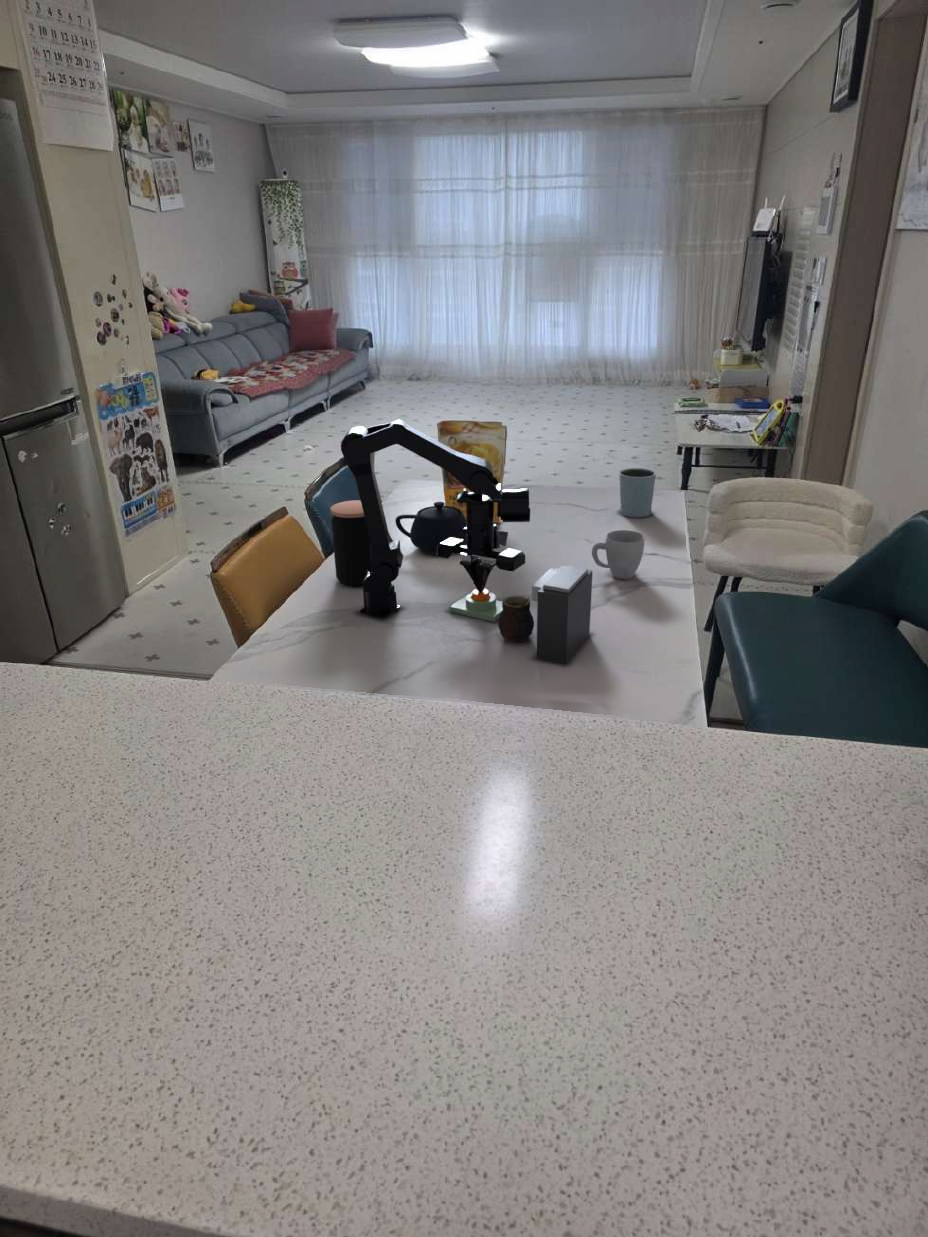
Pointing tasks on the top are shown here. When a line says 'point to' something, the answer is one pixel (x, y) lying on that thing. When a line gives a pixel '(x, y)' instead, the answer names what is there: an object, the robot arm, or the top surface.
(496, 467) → the pancake mix bag
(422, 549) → the teapot
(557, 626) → the lidded grey bin
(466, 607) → the pad
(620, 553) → the mug
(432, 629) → the top surface
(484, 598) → the eject button
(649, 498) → the blue cup
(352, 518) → the coffee jar
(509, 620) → the mate gourd
